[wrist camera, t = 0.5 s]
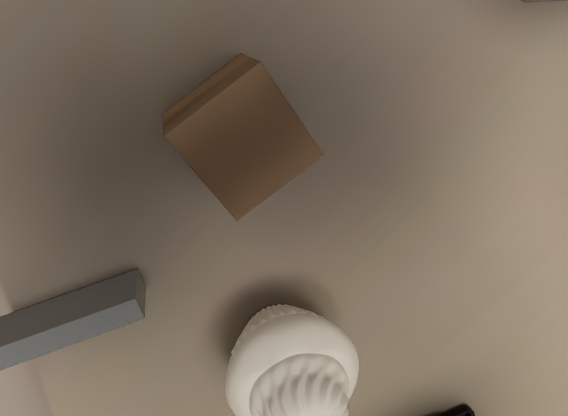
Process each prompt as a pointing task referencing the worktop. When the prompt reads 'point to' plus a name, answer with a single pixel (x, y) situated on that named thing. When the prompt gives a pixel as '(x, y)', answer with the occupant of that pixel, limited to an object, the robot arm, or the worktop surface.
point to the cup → (541, 0)
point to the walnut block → (240, 135)
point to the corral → (71, 318)
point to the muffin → (291, 366)
